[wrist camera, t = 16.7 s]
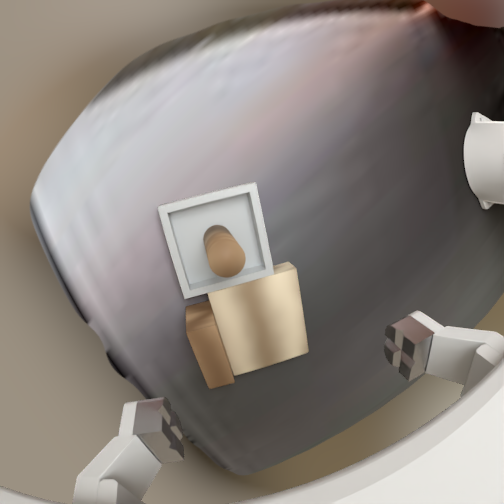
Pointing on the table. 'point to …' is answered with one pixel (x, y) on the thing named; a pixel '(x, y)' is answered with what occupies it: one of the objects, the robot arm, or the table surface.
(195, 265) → the tray
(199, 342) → the wooden block
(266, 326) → the board
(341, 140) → the table surface
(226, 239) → the dowel
